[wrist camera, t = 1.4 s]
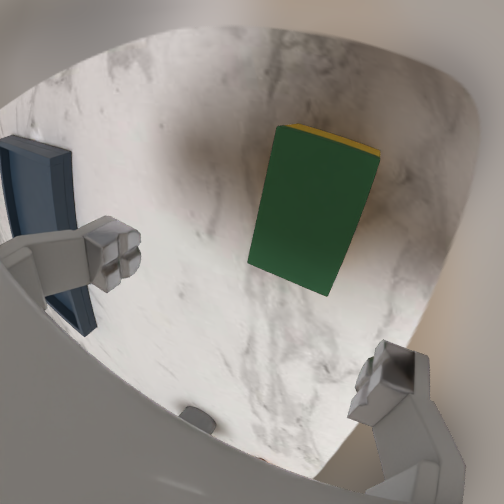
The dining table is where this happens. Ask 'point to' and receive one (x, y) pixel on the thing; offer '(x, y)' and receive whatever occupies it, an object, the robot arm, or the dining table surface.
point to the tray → (43, 209)
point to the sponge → (311, 205)
